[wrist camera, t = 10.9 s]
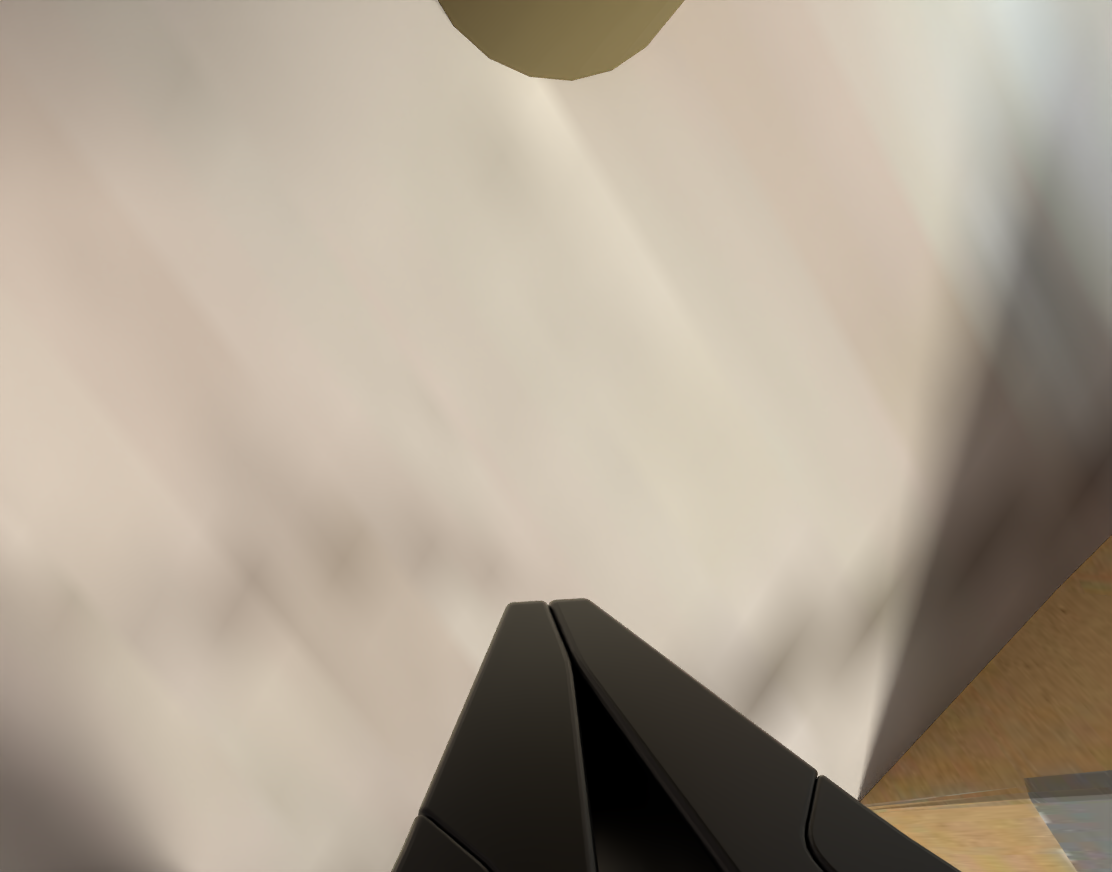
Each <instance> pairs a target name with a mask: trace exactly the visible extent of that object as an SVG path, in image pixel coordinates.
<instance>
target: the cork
mask: <svg viewBox="0 0 1112 872" xmlns="http://www.w3.org/2000/svg"><path fill="white" fill-rule="evenodd" d="M438 1H439V3H440V4H441V6H442V7H443V9H444V11H445V12H446V14H447V16H448V17H449V19H450V21H451V22H452V24H453V26H454V27H455V28H456V29H458V30H459V31H460V32H461V33H462V34H463V35H464V36H465V37H466V38H467V39H469V40H470V41H471V42H472V43H473V44H474V45H475V46H476V47H477V48H479V49H480V50H481V51H482V52H483V53H484V54H485V55H486V56H487V57H488V58H490V59H492V60H494V61H496V62H499V63H501V64H503V65H505V66H507V67H510V68H512V69H514V70H516V71H518V72H521V73H523V74H525V75H527V76H529V77H538V78H549V79H559V80H570V81H573V80H576V79H580V78H584V77H588V76H592V75H596V74H600V73H603V72H607V71H611V70H613V69H614V68H616V67H617V66H619V65H620V64H622V63H623V62H625V61H626V60H628V59H629V58H631V57H632V56H634V55H635V54H636V53H638V52H639V51H641V50H642V49H644V48H645V47H647V45H648V44H649V43H650V42H651V40H652V39H653V38H654V37H655V36H656V34H657V33H658V32H659V31H660V30H661V28H662V27H663V26H664V25H665V23H666V22H667V21H668V20H669V19H670V17H671V16H672V15H673V14H674V12H675V11H676V10H677V9H678V8H679V6H680V5H681V4H682V3H683V2H684V0H438Z"/></svg>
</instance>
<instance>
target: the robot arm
mask: <svg viewBox="0 0 1112 872" xmlns="http://www.w3.org/2000/svg"><path fill="white" fill-rule="evenodd" d="M817 775H818V773H817V771H816V769H814V768H813V767H812V766H810V765H809V764H808V763H806V762H805V761H804V760H802V759H801V758H800V757H798V756H797V755H796V754H794V753H793V752H792V751H790V750H789V749H788V748H786V747H785V746H784V745H782V744H781V743H780V742H778V741H777V740H776V739H774V738H773V737H772V736H770V735H769V734H768V733H766V732H765V731H764V730H762V729H761V728H760V727H758V726H757V725H756V724H754V723H753V722H752V721H750V720H749V719H748V718H746V717H745V716H744V715H742V714H741V713H740V712H738V711H737V710H736V709H734V708H733V707H732V706H730V705H729V704H728V703H726V702H725V701H724V700H722V699H721V698H720V697H718V696H717V695H716V694H714V693H713V692H712V691H710V690H709V689H708V688H706V687H705V686H704V685H702V684H701V683H700V682H698V681H697V680H696V679H694V678H693V677H692V676H690V675H689V674H688V673H686V672H685V671H684V670H682V669H681V668H680V667H678V666H677V665H676V664H674V663H673V662H672V661H670V660H669V659H668V658H666V657H665V656H664V655H662V654H661V653H660V652H658V651H657V650H656V649H654V648H653V647H652V646H650V645H649V644H648V643H646V642H645V641H644V640H642V639H641V638H640V637H638V636H637V635H636V634H634V633H633V632H632V631H630V630H629V629H628V628H626V627H625V626H624V625H622V624H621V623H620V622H618V621H617V620H616V619H614V618H613V617H612V616H610V615H609V614H608V613H606V612H605V611H604V610H602V609H601V608H600V607H598V606H597V605H596V604H594V603H593V602H592V601H590V600H588V599H585V598H578V599H562V600H553V601H551V602H550V603H549V605H547V603H546V602H544V601H528V602H512V603H510V604H508V605H507V607H506V609H505V611H504V613H503V616H502V618H501V620H500V623H499V625H498V627H497V630H496V632H495V634H494V637H493V639H492V641H491V644H490V646H489V648H488V651H487V653H486V655H485V658H484V660H483V662H482V665H481V667H480V669H479V672H478V674H477V676H476V679H475V681H474V683H473V686H472V688H471V690H470V693H469V695H468V697H467V700H466V702H465V704H464V707H463V709H462V711H461V714H460V716H459V718H458V721H457V723H456V725H455V728H454V730H453V732H452V735H451V737H450V739H449V742H448V744H447V746H446V749H445V751H444V753H443V756H442V758H441V760H440V763H439V765H438V767H437V770H436V772H435V774H434V777H433V779H432V781H431V784H430V786H429V788H428V791H427V793H426V795H425V798H424V800H423V802H422V805H421V807H420V809H419V813H418V816H417V817H416V818H415V820H414V822H413V824H412V827H411V829H410V831H409V834H408V836H407V838H406V841H405V843H404V845H403V848H402V850H401V852H400V854H399V856H398V858H397V860H396V863H395V865H394V867H393V869H392V871H391V872H961V871H960V870H958V869H957V868H955V867H954V866H952V865H951V864H949V863H948V862H946V861H945V860H943V859H942V858H940V857H939V856H937V855H936V854H934V853H932V852H931V851H929V850H928V849H926V848H925V847H923V846H922V845H920V844H919V843H917V842H916V841H914V840H913V839H911V838H910V837H908V836H907V835H905V834H904V833H902V832H901V831H900V830H898V829H897V828H895V827H894V826H893V825H891V824H890V823H888V822H887V821H886V820H884V819H883V818H881V817H880V816H879V815H877V814H876V813H874V812H873V811H872V810H870V809H869V808H867V807H866V806H865V805H863V804H862V803H860V802H859V801H858V800H856V799H855V798H854V797H852V796H851V795H850V794H848V793H847V792H846V791H844V790H843V789H842V788H840V787H839V786H838V785H836V784H835V783H834V782H832V781H831V780H830V779H828V778H827V777H826V776H823V775H820V776H818V778H817Z"/></svg>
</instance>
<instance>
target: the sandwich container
mask: <svg viewBox="0 0 1112 872" xmlns="http://www.w3.org/2000/svg"><path fill="white" fill-rule="evenodd" d="M860 803H862V804H863V805H865V806H866V807H867V808H869V809H870V810H872V811H873V812H874V813H876V814H877V815H879V816H880V817H881V818H883V819H884V820H886V821H887V822H888V823H890V824H891V825H893V826H894V827H895V828H897V829H898V830H900V831H901V832H902V833H904V834H905V835H907V836H908V837H910V838H911V839H913V840H914V841H916V842H917V843H919V844H920V845H922V846H923V847H925V848H926V849H928V850H929V851H931V852H932V853H934V854H936V855H937V856H939V857H940V858H942V859H943V860H945V861H946V862H948V863H949V864H951V865H952V866H954V867H955V868H957V869H958V870H960V871H961V872H1112V535H1111V536H1110V537H1109V538H1108V539H1107V540H1106V541H1105V542H1104V543H1103V544H1102V545H1101V546H1100V547H1099V548H1098V549H1097V550H1096V551H1095V552H1094V553H1093V554H1092V555H1091V556H1090V557H1089V558H1088V559H1087V560H1086V561H1085V562H1084V563H1083V564H1082V565H1081V566H1080V567H1079V568H1078V569H1077V570H1076V571H1075V572H1074V573H1073V574H1072V575H1071V576H1070V577H1069V578H1068V579H1067V580H1066V581H1065V582H1064V583H1063V584H1062V585H1061V586H1060V587H1059V588H1058V589H1057V590H1056V591H1055V592H1054V593H1053V594H1052V596H1051V597H1050V598H1049V599H1048V600H1047V601H1046V602H1045V603H1044V604H1043V605H1042V606H1041V607H1040V608H1039V610H1038V611H1037V612H1036V613H1035V614H1034V615H1033V616H1032V617H1031V618H1030V619H1029V620H1028V621H1027V622H1026V624H1025V625H1024V626H1023V627H1022V628H1021V629H1020V630H1019V631H1018V632H1017V633H1016V634H1015V635H1014V636H1013V638H1012V639H1011V640H1010V641H1009V642H1008V643H1007V644H1006V645H1005V646H1004V647H1003V648H1002V649H1001V650H1000V652H999V653H998V654H997V655H996V656H995V657H994V658H993V659H992V660H991V661H990V662H989V663H988V664H987V666H986V667H985V668H984V669H983V670H982V671H981V672H980V673H979V674H978V675H977V676H976V677H975V678H974V680H973V681H972V682H971V683H970V684H969V685H968V686H967V687H966V688H965V689H964V690H963V691H962V692H961V694H960V695H959V696H958V697H957V698H956V699H955V700H954V701H953V702H952V703H951V704H950V705H949V706H948V708H947V709H946V710H945V711H944V712H943V713H942V714H941V715H940V716H939V717H938V718H937V719H936V720H935V721H934V723H933V724H932V725H931V726H930V727H929V728H928V729H927V730H926V731H925V732H924V733H923V734H922V735H921V737H920V738H919V739H918V740H917V741H916V742H915V743H914V744H913V745H912V746H911V747H910V748H909V749H908V751H907V752H906V753H905V754H904V755H903V756H902V757H901V758H900V759H899V760H898V761H897V762H896V763H895V765H894V766H893V767H892V768H891V769H890V770H889V771H888V772H887V773H886V774H885V775H884V776H883V777H882V779H881V780H880V781H879V782H878V783H877V784H876V785H875V786H874V787H873V788H872V789H871V790H870V792H869V793H868V794H867V795H866V796H865V797H864V798H863V799H862V800H861V801H860Z"/></svg>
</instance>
